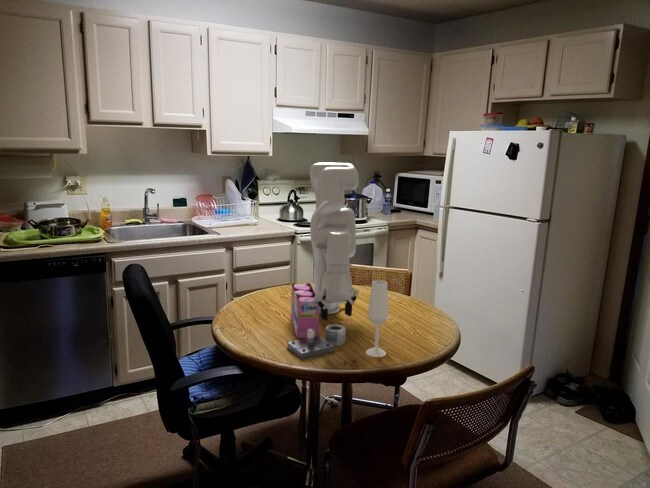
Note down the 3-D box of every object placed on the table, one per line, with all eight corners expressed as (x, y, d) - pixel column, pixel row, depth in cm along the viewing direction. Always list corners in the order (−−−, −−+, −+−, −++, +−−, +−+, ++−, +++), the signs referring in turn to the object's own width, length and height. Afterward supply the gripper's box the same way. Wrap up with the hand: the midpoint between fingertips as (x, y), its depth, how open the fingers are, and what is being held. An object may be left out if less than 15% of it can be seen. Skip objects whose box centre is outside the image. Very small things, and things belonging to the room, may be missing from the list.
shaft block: (318, 341, 165) (318, 322, 164) (333, 351, 157) (334, 331, 155) (287, 347, 159) (287, 328, 158) (301, 359, 151) (302, 338, 149)
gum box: (289, 315, 190) (290, 282, 188) (309, 314, 192) (310, 281, 189) (296, 338, 167) (297, 301, 164) (319, 337, 169) (320, 300, 166)
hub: (337, 336, 170) (338, 323, 169) (348, 343, 164) (349, 329, 163) (322, 340, 166) (322, 326, 165) (332, 346, 161) (332, 332, 160)
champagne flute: (383, 348, 161) (387, 279, 156) (388, 356, 154) (392, 285, 150) (363, 348, 160) (367, 279, 155) (368, 357, 153) (371, 285, 149)
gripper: (352, 263, 167) (350, 310, 170) (309, 268, 158) (308, 317, 161) (365, 268, 161) (363, 316, 164) (321, 273, 152) (320, 324, 155)
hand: (336, 317), depth 163 cm, fingers open, 9 cm apart
